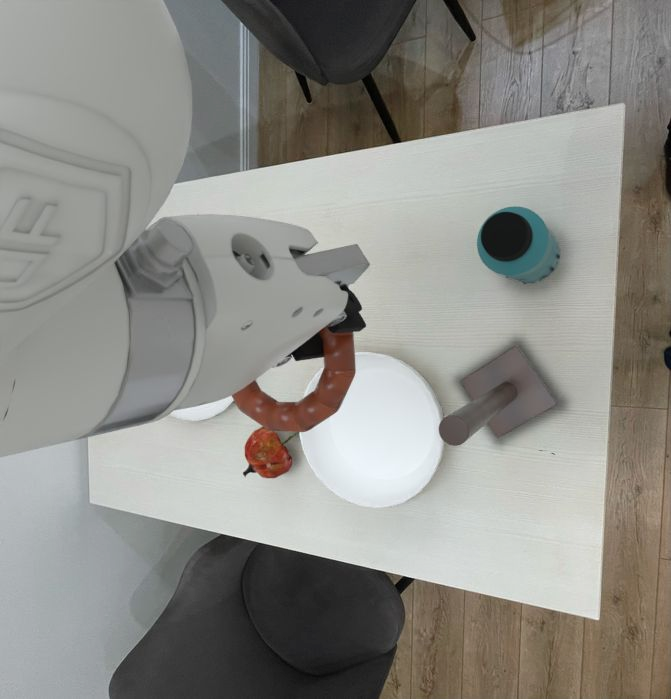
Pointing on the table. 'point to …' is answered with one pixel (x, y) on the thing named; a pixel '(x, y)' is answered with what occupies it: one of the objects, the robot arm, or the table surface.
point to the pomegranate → (267, 454)
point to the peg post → (498, 398)
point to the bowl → (378, 435)
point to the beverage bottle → (518, 245)
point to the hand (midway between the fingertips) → (333, 321)
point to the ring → (316, 403)
